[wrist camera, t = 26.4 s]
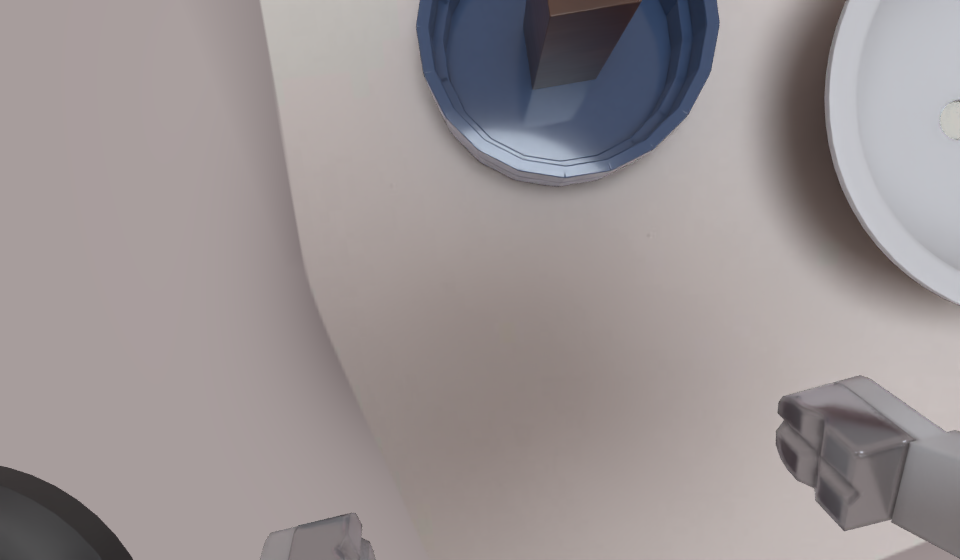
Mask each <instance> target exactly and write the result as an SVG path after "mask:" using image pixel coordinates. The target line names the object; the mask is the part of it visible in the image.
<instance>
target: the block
mask: <svg viewBox="0 0 960 560" xmlns="http://www.w3.org/2000/svg"><path fill="white" fill-rule="evenodd" d="M641 2H642V0H526V7H525V15H524V22H523V29H524V36H525V42H526V49H527V56H528V62H529V69H530V76H531V83H532V89H533V90H534V89H540V88H546V87H552V86H557V85H563V84H569V83H575V82H581V81H587V80H593V79H596V78H597V76H598V74H599V73H600V71H601V69H602V68H603V66H604V64H605V62H606V61H607V59H608V57H609V56H610V54H611V52H612V51H613V49H614V47H615V46H616V44H617V42H618V41H619V39H620V37H621V35H622V34H623V32H624V30H625V29H626V27H627V25H628V24H629V22H630V20H631V19H632V17H633V15H634V14H635V12H636V10H637V8H638V7H639V5H640V3H641Z"/></svg>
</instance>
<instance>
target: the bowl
mask: <svg viewBox="0 0 960 560" xmlns="http://www.w3.org/2000/svg"><path fill="white" fill-rule="evenodd" d="M525 7H526V0H420V3H419V10H418V17H417V24H416V30H417V37H418V43H419V49H420V56H421V62H422V68H423V74H424V77H425V79H426V82H427V84H428V87H429V89H430V92H431V94H432V97H433V99H434V101H435V103H436V105H437V107H438V109H439V111H440V113H441V115H442V117H443V119H444V121H445V123H446V124H447V126H448V128H449V130H450V132H451V133H452V134H453V135H454V136H455V137H456V138H457V140H458V141H459V142H460V143H461V144H462V145H463V146H464V147H465V148H466V149H467V150H468V151H469V152H470V153H471V154H472V155H473V156H474V157H475V158H476V159H477V160H478V161H480V162H481V163H483V164H485V165H487V166H489V167H491V168H493V169H495V170H497V171H498V172H500V173H502V174H504V175H506V176H508V177H510V178H512V179H514V180H517V181H523V182H529V183H535V184H542V185H548V186H554V187H556V186H557V187H559V186H565V185H571V184H578V183H584V182H590V181H596V180H599V179H601V178H603V177H605V176H607V175H609V174H611V173H613V172H615V171H617V170H619V169H621V168H623V167H625V166H627V165H629V164H630V163H632V162H634V161H636V160H637V159H639V158H641V157H642V156H644V155H645V154H647V153H648V152H650V151H652V150H653V149H654V148H656V147H657V146H658V145H659V144H660V143H661V142H662V141H663V140H664V139H665V138H666V137H667V136H668V135H669V134H670V133H671V132H672V131H673V130H674V129H675V128H676V127H677V126H678V125H679V124H680V123H681V122H682V121H683V120H684V119H685V118H686V117H687V115H688V114H689V112H690V110H691V109H692V107H693V105H694V103H695V101H696V99H697V97H698V95H699V94H700V92H701V90H702V88H703V86H704V84H705V82H706V80H707V78H708V77H709V75H710V72H711V68H712V63H713V57H714V52H715V46H716V41H717V36H718V30H719V15H718V7H717V0H642V2H641V3H640V5H639V7H638V8H637V10H636V12H635V14H634V15H633V17H632V19H631V20H630V22H629V24H628V25H627V27H626V29H625V30H624V32H623V34H622V35H621V37H620V39H619V41H618V42H617V44H616V46H615V47H614V49H613V51H612V52H611V54H610V56H609V57H608V59H607V61H606V62H605V64H604V66H603V68H602V69H601V71H600V73H599V74H598V76H597V78H596V79H593V80H587V81H581V82H575V83H569V84H563V85H557V86H552V87H546V88H540V89H534V90H533V89H532V83H531V76H530V69H529V62H528V56H527V49H526V42H525V36H524V29H523V22H524V15H525Z"/></svg>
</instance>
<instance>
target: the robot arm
mask: <svg viewBox="0 0 960 560" xmlns="http://www.w3.org/2000/svg"><path fill="white" fill-rule="evenodd" d="M778 414H779V415H780V416H781V417H782V418H783V419H784V421H783V422H782V424H781V425H780V427H779V428H778V429H777V431H776V447H777V449H778V452H779V455H780V458H781V460H782V462H783V463H784V465H785V466H786V468H787V470H788V471H789V472H790V473H791V474H792V475H793V476H794V477H795V479H796V480H797V481H799V482H802V483H804V484H806V485H808V486H811V487H813V488H814V490H815V500H816V501H817V503H818V504H819V505H820V506H821V507H822V508H823V509H824V510H825V511H826V512H827V513H828V514H829V515H830V516H831V518H832V519H833V520H834V521H835V522H836V523H837V524H838V525H839V526H840V527H841V528H842V529H843V530H844V531H847V530H851V529H855V528H859V527H863V526H867V525H871V524H875V523H879V522H883V521H887V520H891V519H892V521H891V522H892V523H894V524H896V525H898V526H899V527H901V528H903V529H905V530H907V531H909V532H911V533H913V534H914V535H916V536H918V537H920V538H922V539H924V540H926V541H928V542H929V543H931V544H933V545H935V546H937V547H939V548H941V549H943V550H945V551H947V552H949V553H950V554H952V555H954V556H956V557H958V558H960V431H956V430H954V431H950V432H946V431H944V430H943V429H941V428H940V427H939V426H937V425H936V424H934V423H933V422H931V421H930V420H929V419H927V418H926V417H924V416H923V415H921V414H920V413H919V412H917V411H916V410H914V409H913V408H911V407H910V406H909V405H907V404H906V403H904V402H903V401H901V400H900V399H899V398H897V397H896V396H894V395H893V394H891V393H890V392H889V391H887V390H886V389H884V388H883V387H881V386H880V385H879V384H877V383H876V382H874V381H873V380H871V379H870V378H868V377H864V376H861V375H859V376H855V377H851V378H848V379H844V380H841V381H837V382H834V383H829V384H825V385H822V386H818V387H815V388H811V389H808V390H804V391H801V392H797V393H793V394H790V395H786V396H783V397H782V398H781V400H780V401H779V403H778ZM361 533H362V524H361V522H360V520H359V518H358V516H357V514H356V513H349V514H345V515H340V516H336V517H333V518H328V519H324V520H320V521H315V522H311V523H307V524H303V525H299V526H297V527H293V528H289V529H285V530H280V531H276V532H272V533H270V535H269V536H268V538H267V539H266V541H265V543H264V547H263V551H262V555H261V558H260V560H376V559H375V555H374V551H373V549H372V546H371V544H370V542H369V541H367V540H365V539H363V538H361V535H362V534H361Z"/></svg>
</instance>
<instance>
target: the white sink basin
mask: <svg viewBox="0 0 960 560" xmlns="http://www.w3.org/2000/svg"><path fill="white" fill-rule="evenodd" d="M824 101H825V123H826V130H827V137H828V144H829V149H830V153H831V157H832V161H833V165H834V168H835V171H836V174H837V177H838V179H839V182H840V185H841V188H842V190H843V192H844V194H845V196H846V198H847V201H848V203H849V205H850V207H851V209H852V210H853V212H854V214H855V215H856V217H857V219H858V220H859V222H860V224H861V225H862V227H863V228H864V230H865V231H866V232H867V234H868V235H869V236H870V238H871V239H872V240H873V241H874V243H875V244H876V245H877V246H878V248H879V249H880V250H881V251H882V252H883V253H884V254H885V255H886V256H887V257H888V258H889V259H890V260H891V261H892V262H893V263H894V264H895V265H896V266H897V267H899V268H900V269H901V270H902V271H903V272H904V273H905V274H907V275H908V276H909V277H910V278H912V279H913V280H915V281H916V282H918V283H919V284H920V285H922V286H923V287H925V288H926V289H928V290H929V291H931V292H933V293H935V294H937V295H938V296H940V297H942V298H944V299H945V300H947V301H950V302H952V303H954V304H957V305H959V306H960V139H959V140H956V139H952V138H950V137H948V136H947V135H946V134H945V133H944V132H943V130H942V128H941V125H940V116H941V113H942V111H943V109H944V107H945V106H946V105H947V104H948V103H950V102H953V101H960V0H846V2H845V5H844V7H843V9H842V12H841V15H840V18H839V21H838V23H837V26H836V29H835V33H834V36H833V40H832V44H831V48H830V52H829V58H828V65H827V71H826V81H825V98H824Z"/></svg>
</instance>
